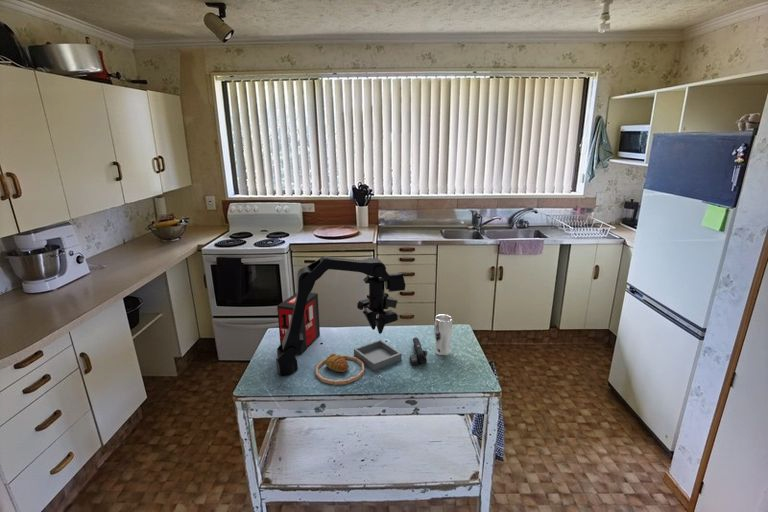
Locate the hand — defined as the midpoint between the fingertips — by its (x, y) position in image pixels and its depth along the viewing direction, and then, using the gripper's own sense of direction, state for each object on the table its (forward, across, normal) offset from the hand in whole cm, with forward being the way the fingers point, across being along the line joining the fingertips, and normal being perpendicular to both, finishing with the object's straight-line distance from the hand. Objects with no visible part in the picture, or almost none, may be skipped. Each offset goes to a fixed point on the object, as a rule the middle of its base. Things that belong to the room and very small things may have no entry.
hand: (377, 331), depth 148 cm
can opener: (+12, -8, -14) cm, 20 cm away
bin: (+11, 0, 0) cm, 11 cm away
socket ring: (+11, +1, +16) cm, 20 cm away
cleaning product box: (+12, +28, +19) cm, 36 cm away
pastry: (+12, +1, +18) cm, 22 cm away
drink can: (+12, -12, -23) cm, 28 cm away
